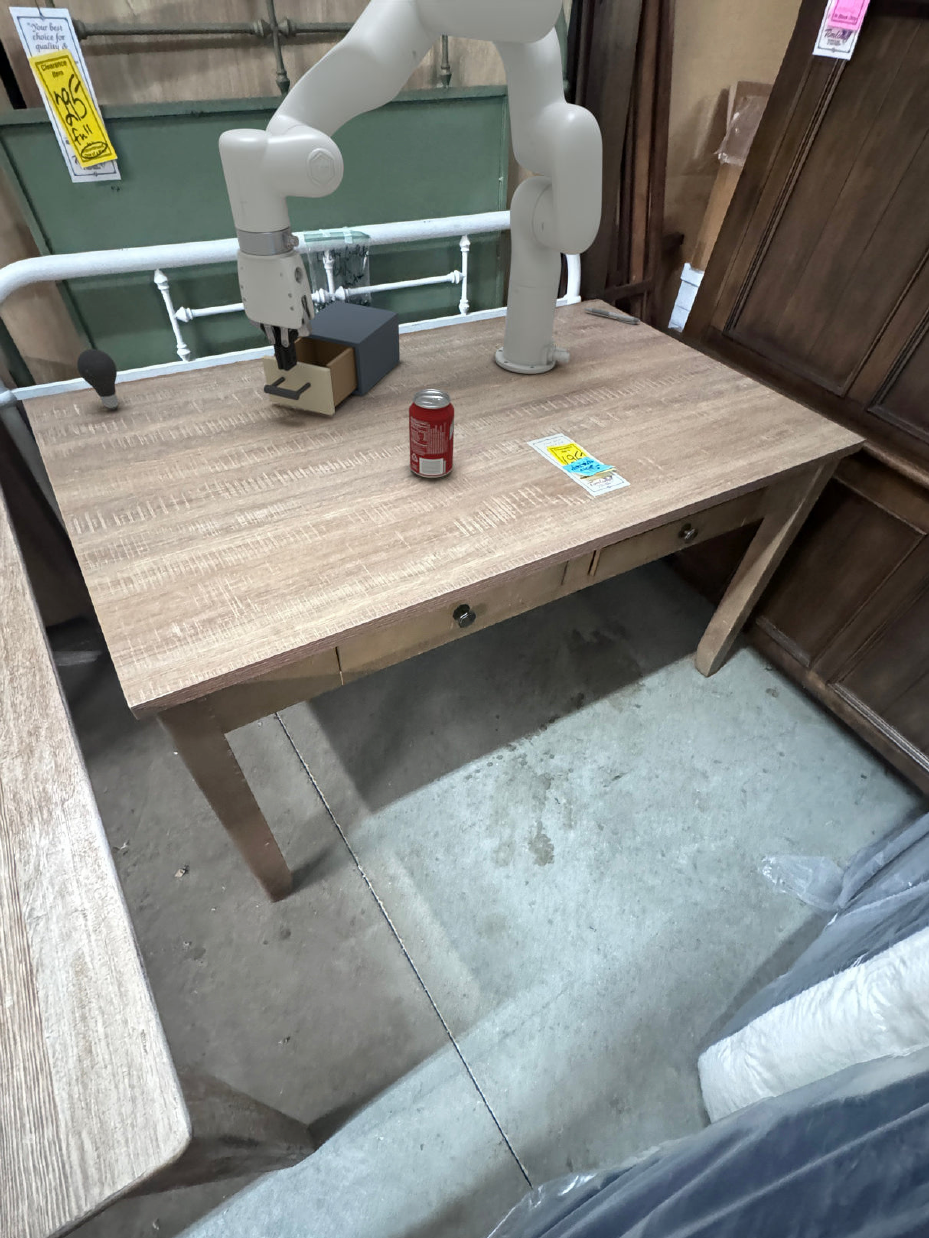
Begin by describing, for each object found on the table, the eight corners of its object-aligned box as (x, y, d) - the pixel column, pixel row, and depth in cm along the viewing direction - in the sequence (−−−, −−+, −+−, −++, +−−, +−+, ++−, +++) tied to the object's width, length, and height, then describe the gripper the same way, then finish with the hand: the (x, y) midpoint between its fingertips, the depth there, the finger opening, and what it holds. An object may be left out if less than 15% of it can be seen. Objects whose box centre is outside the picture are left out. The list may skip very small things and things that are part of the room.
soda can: (447, 484, 95) (449, 411, 86) (405, 477, 96) (403, 405, 87) (456, 461, 100) (459, 390, 91) (416, 455, 100) (415, 384, 92)
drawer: (316, 429, 103) (310, 384, 97) (253, 413, 106) (243, 369, 100) (371, 379, 117) (369, 337, 111) (314, 367, 119) (308, 325, 114)
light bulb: (94, 403, 108) (71, 345, 100) (129, 398, 109) (108, 341, 102) (95, 418, 104) (70, 359, 97) (131, 413, 106) (109, 355, 99)
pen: (638, 325, 145) (640, 319, 144) (582, 313, 149) (584, 307, 148) (639, 324, 145) (641, 318, 144) (584, 311, 149) (585, 305, 148)
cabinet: (362, 396, 114) (358, 343, 107) (298, 381, 117) (290, 329, 110) (399, 362, 125) (398, 312, 118) (340, 349, 128) (335, 300, 121)
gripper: (324, 240, 88) (339, 366, 101) (236, 226, 91) (261, 350, 105) (297, 255, 83) (316, 385, 97) (204, 240, 87) (235, 368, 100)
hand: (288, 366), depth 101 cm, fingers closed
